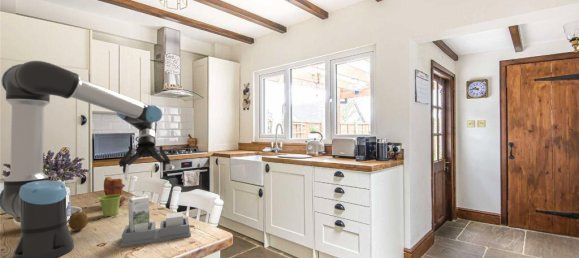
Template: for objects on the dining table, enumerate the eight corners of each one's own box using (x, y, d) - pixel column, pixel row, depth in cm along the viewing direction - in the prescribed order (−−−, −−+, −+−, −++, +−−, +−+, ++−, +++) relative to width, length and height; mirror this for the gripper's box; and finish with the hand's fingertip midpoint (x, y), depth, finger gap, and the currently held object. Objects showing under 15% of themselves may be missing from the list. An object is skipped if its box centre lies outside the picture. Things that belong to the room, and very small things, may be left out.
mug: (128, 205, 153) (127, 177, 153) (112, 209, 147) (111, 179, 146) (114, 202, 161) (113, 175, 161) (98, 205, 154) (97, 177, 154)
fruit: (90, 227, 120) (89, 208, 120) (84, 232, 114) (84, 212, 114) (72, 229, 119) (72, 209, 118) (66, 234, 113) (65, 214, 113)
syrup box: (145, 231, 110) (144, 193, 110) (150, 235, 106) (149, 196, 106) (129, 235, 107) (128, 196, 106) (133, 240, 102) (131, 199, 102)
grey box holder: (120, 247, 99) (119, 226, 99) (125, 236, 109) (124, 217, 109) (190, 236, 108) (190, 217, 108) (189, 227, 118) (188, 209, 118)
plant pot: (104, 219, 131) (104, 200, 131) (95, 216, 136) (94, 197, 136) (125, 213, 138) (125, 195, 138) (116, 210, 144) (115, 193, 144)
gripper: (175, 145, 144) (175, 180, 130) (118, 146, 135) (111, 184, 121) (175, 134, 139) (175, 169, 125) (115, 135, 130) (108, 173, 116)
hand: (144, 177), depth 123 cm, fingers open, 13 cm apart
